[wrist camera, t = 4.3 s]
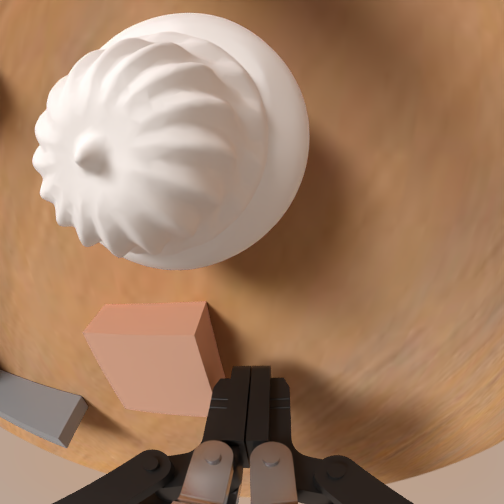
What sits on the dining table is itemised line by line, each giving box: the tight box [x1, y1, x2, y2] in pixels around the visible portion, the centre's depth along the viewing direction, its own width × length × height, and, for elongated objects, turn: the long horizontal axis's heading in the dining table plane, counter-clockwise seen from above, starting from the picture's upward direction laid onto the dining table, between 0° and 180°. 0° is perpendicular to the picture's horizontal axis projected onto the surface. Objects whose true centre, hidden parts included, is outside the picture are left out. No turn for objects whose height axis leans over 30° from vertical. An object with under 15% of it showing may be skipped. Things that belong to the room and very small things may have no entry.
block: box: [83, 301, 225, 417], centre depth 12 cm, size 5×5×2 cm
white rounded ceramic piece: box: [32, 13, 310, 270], centre depth 6 cm, size 6×6×7 cm
